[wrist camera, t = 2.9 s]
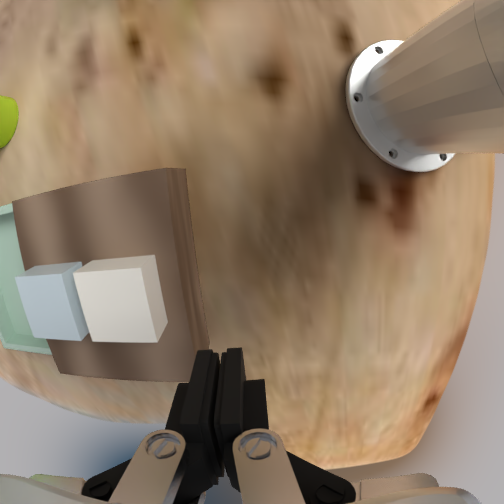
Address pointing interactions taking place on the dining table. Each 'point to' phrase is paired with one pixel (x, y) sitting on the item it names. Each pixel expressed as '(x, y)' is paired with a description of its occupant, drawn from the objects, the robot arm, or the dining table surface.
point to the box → (14, 292)
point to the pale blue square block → (53, 301)
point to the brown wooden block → (120, 246)
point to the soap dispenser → (7, 119)
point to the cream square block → (122, 299)
